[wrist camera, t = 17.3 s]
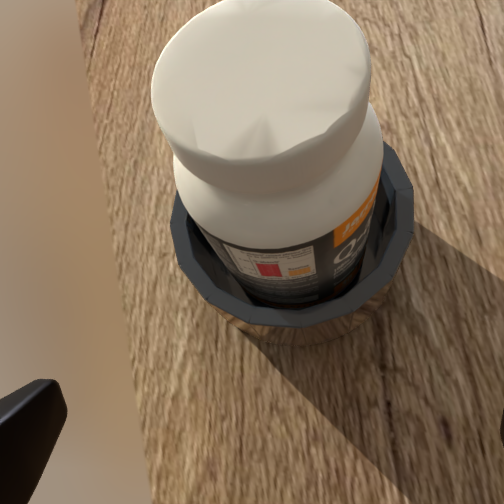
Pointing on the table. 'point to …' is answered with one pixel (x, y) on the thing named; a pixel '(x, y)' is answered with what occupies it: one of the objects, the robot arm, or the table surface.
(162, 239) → the table surface
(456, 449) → the table surface
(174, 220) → the holder
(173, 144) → the pill bottle
